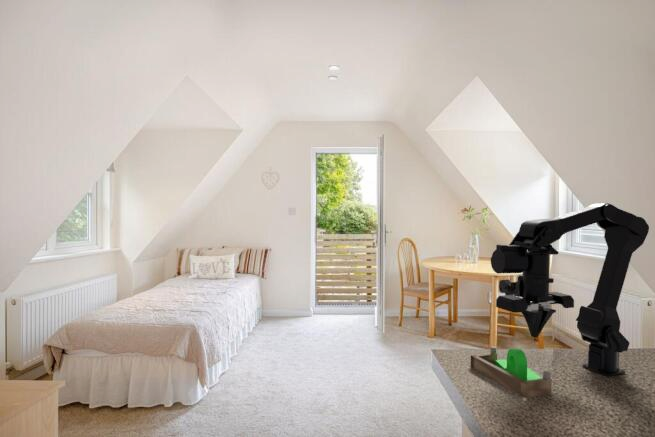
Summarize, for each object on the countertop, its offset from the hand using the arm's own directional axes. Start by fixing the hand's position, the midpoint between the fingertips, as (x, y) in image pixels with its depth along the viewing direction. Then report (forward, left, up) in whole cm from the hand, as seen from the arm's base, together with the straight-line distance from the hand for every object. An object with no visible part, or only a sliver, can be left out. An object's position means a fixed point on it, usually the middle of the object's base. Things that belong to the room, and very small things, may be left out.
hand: (534, 337), depth 94 cm
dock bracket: (+8, 0, -9) cm, 12 cm away
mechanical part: (+4, 0, -10) cm, 11 cm away
